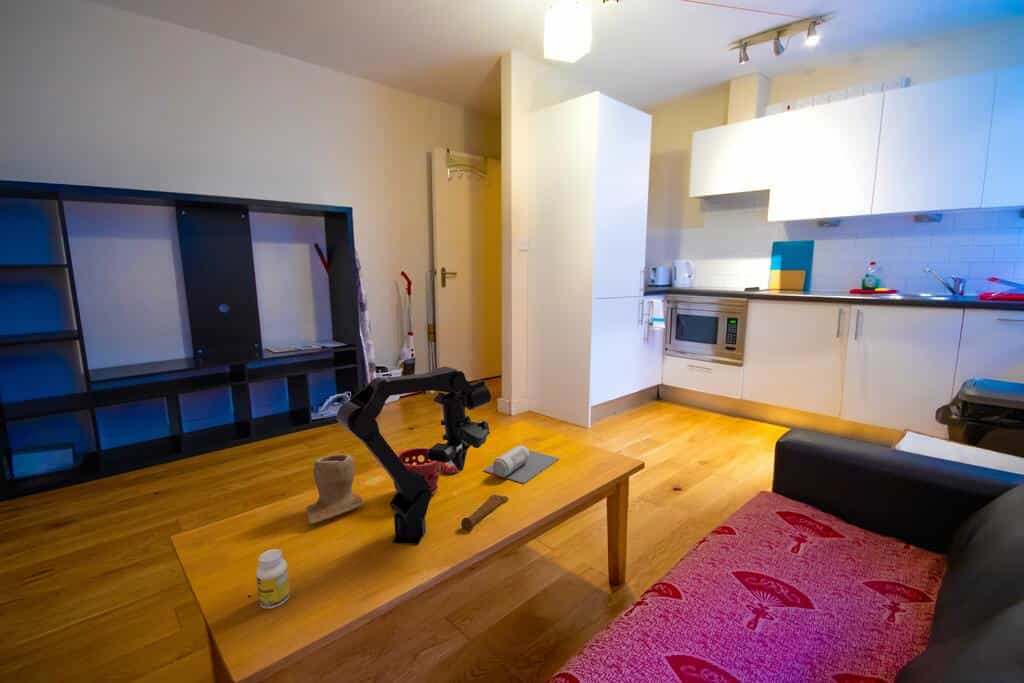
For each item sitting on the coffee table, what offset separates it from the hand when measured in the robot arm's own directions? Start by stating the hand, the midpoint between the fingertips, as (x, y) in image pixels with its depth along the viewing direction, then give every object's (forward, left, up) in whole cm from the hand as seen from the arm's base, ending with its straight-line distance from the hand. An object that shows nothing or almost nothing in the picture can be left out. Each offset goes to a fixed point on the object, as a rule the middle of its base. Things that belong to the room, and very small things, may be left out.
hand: (460, 470), depth 117 cm
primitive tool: (+6, +1, -13) cm, 14 cm away
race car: (-11, +28, -13) cm, 33 cm away
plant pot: (-15, +10, -13) cm, 22 cm away
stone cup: (-36, -1, -13) cm, 38 cm away
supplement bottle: (-31, -34, -13) cm, 48 cm away
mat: (+14, +31, -12) cm, 36 cm away
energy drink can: (+7, +20, -9) cm, 24 cm away
